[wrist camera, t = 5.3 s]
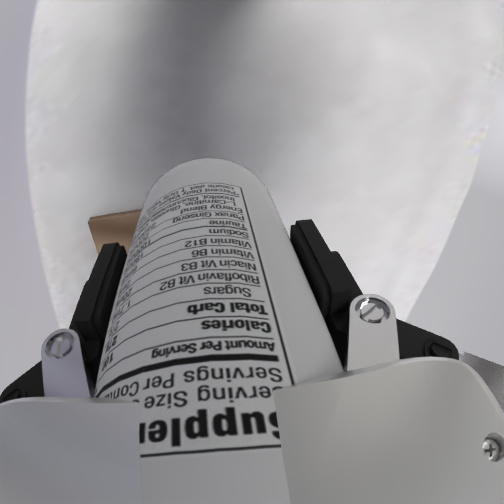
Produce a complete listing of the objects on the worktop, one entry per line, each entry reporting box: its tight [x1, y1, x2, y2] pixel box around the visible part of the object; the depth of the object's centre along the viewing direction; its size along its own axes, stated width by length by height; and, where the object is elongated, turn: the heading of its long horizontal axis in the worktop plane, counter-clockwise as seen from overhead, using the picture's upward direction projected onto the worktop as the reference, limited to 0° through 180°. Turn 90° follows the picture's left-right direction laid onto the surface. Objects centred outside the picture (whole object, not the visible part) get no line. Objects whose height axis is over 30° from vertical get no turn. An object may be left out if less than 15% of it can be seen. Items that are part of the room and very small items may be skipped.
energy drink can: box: [94, 158, 345, 504], centre depth 9 cm, size 6×6×15 cm
